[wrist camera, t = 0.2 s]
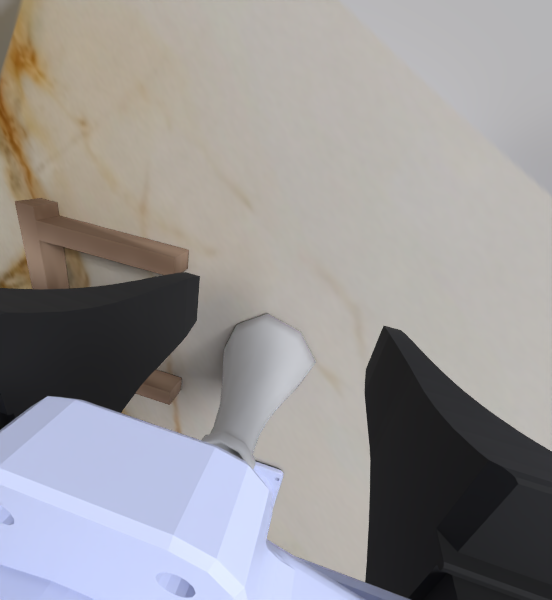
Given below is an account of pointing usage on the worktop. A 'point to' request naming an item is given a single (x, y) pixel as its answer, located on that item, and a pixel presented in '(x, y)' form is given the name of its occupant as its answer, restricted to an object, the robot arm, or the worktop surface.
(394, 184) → the worktop surface
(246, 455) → the flask
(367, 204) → the worktop surface
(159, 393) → the walnut bay
